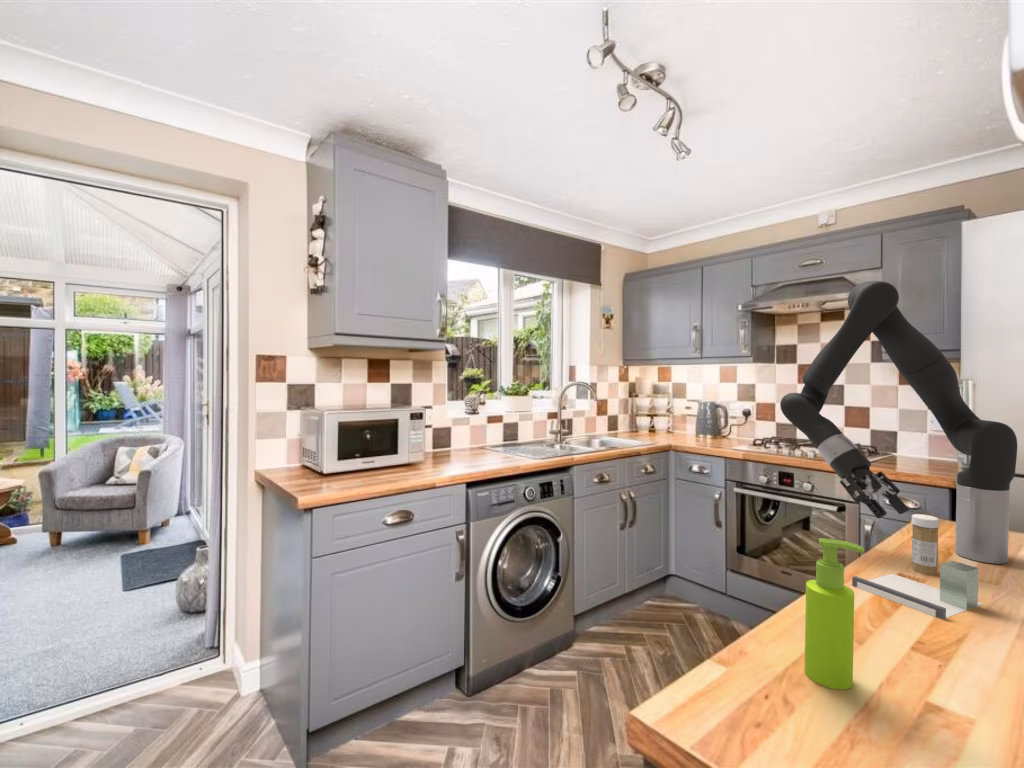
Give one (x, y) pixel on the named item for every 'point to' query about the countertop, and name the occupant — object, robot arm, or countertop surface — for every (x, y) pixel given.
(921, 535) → the spice jar
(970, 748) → the countertop surface
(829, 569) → the soap dispenser
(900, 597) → the tray
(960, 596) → the tea tin
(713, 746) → the countertop surface
